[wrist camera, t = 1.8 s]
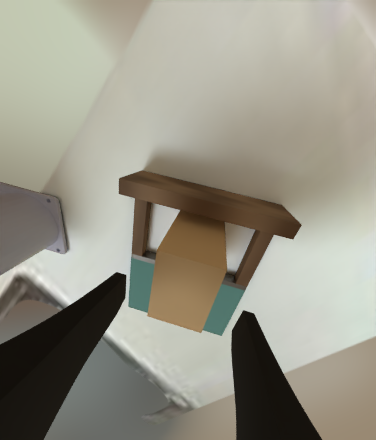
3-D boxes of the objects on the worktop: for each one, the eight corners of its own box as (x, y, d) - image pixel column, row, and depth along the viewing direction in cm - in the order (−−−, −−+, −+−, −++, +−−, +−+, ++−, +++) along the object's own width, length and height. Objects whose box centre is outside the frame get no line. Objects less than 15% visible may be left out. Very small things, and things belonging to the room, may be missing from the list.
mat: (129, 304, 24) (128, 306, 24) (133, 254, 20) (131, 256, 20) (221, 333, 23) (221, 335, 23) (244, 287, 19) (245, 289, 19)
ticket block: (174, 251, 19) (147, 316, 12) (184, 203, 16) (156, 250, 9) (208, 260, 19) (201, 332, 12) (224, 213, 16) (227, 270, 9)
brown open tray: (136, 251, 20) (117, 275, 16) (142, 170, 16) (119, 178, 12) (243, 282, 19) (248, 314, 15) (281, 205, 15) (301, 225, 11)
